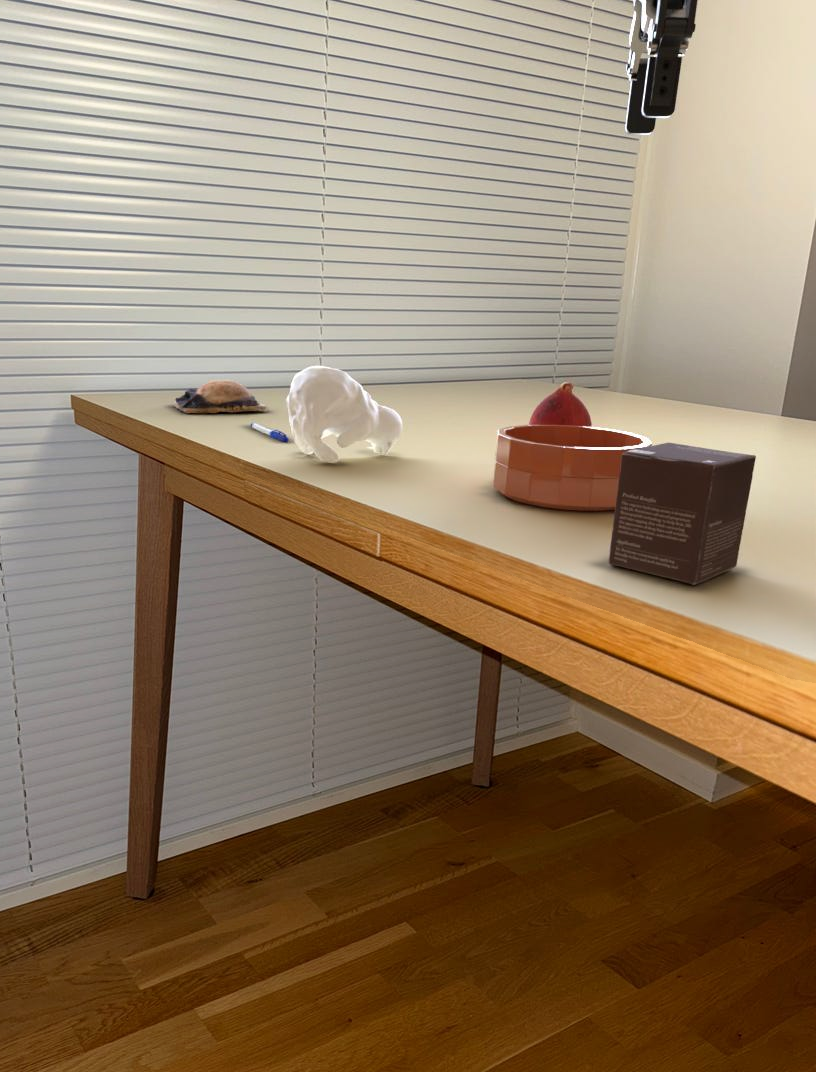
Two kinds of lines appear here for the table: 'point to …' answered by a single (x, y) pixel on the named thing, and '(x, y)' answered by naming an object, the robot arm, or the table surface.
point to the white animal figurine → (337, 414)
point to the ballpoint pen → (270, 432)
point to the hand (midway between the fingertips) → (647, 126)
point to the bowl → (562, 465)
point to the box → (680, 511)
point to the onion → (561, 409)
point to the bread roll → (218, 398)
